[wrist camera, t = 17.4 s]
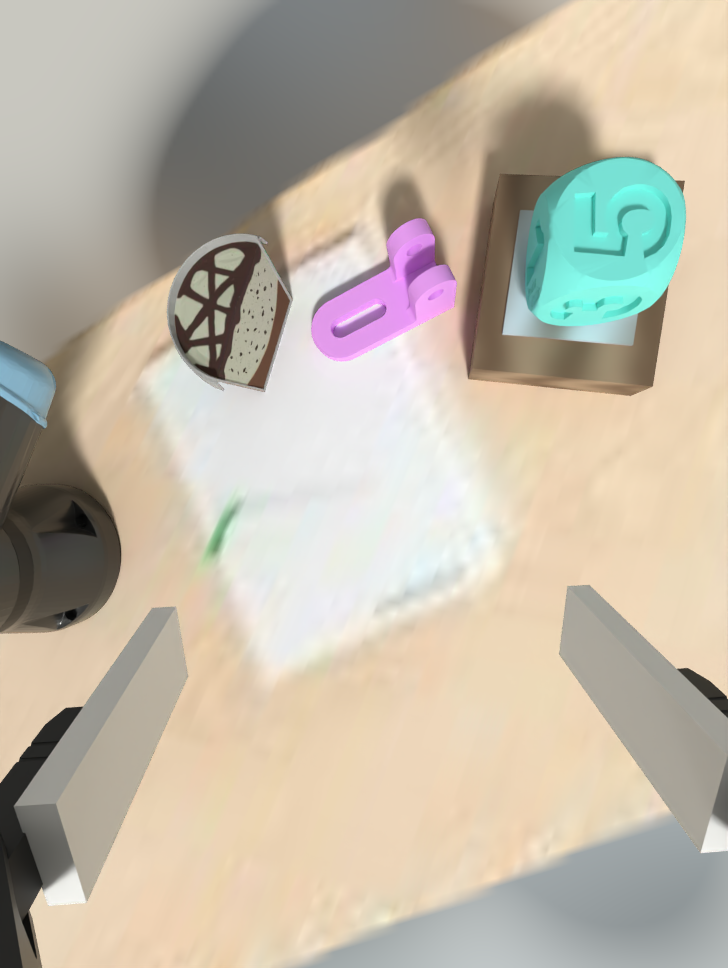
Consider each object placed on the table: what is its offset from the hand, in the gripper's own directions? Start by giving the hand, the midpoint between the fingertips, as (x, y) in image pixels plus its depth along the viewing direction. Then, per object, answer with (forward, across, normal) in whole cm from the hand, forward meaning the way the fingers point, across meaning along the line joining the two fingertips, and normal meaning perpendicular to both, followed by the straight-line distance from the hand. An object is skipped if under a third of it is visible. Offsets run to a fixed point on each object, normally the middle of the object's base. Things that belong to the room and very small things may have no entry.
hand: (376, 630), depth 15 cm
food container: (+35, -10, +10) cm, 37 cm away
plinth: (+29, +19, +13) cm, 37 cm away
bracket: (+33, +3, +12) cm, 35 cm away
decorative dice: (+26, +18, +14) cm, 34 cm away
